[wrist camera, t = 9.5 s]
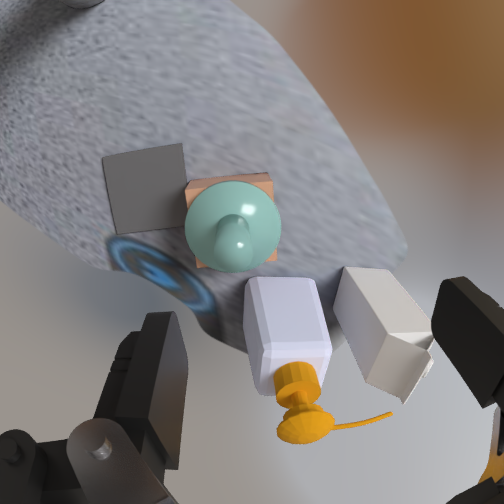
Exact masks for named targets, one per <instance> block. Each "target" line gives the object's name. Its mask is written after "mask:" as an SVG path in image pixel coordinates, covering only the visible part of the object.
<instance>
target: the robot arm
mask: <svg viewBox="0 0 504 504" xmlns="http://www.w3.org/2000/svg"><path fill="white" fill-rule="evenodd" d="M58 1H60V2H62V3H64V4H66V5H68V6H70V7H72V8H77V9H81V8H88V7H91V6H94V5H96V4H98V3H100V2H102V1H103V0H58ZM431 331H432V335H433V337H434V339H435V340H436V341H437V343H438V344H439V345H440V347H441V348H442V350H443V351H444V352H445V354H446V355H447V357H448V358H449V359H450V361H451V362H452V364H453V365H454V366H455V368H456V369H457V371H458V372H459V374H460V375H461V377H462V378H463V380H464V381H465V383H466V384H467V386H468V387H469V389H470V390H471V392H472V393H473V395H474V396H475V398H476V399H477V401H478V402H479V404H480V405H481V407H482V408H485V407H487V406H489V405H491V404H493V403H495V402H496V403H497V404H498V407H497V408H496V410H495V413H494V420H493V431H492V440H491V448H490V455H489V461H488V464H487V467H486V469H485V471H484V473H483V474H482V476H481V478H480V480H479V482H478V484H477V485H475V486H473V487H472V488H470V489H468V490H466V491H464V492H462V493H460V494H458V495H456V496H455V497H453V498H452V499H451V500H450V501H449V502H447V503H446V504H504V309H503V308H502V307H499V304H498V303H497V302H496V301H495V300H494V299H492V298H491V297H490V296H489V295H487V294H485V293H483V292H482V291H481V290H480V289H478V287H476V286H475V285H474V284H473V283H472V282H471V281H470V280H469V279H468V278H466V277H464V276H462V277H456V278H451V279H446V280H443V281H442V283H441V285H440V288H439V293H438V296H437V300H436V304H435V308H434V312H433V316H432V319H431ZM110 371H111V372H109V374H108V377H107V380H106V383H105V385H104V388H103V391H102V394H101V397H100V400H99V402H98V405H97V409H96V411H95V414H94V417H93V419H90V420H87V421H85V422H83V423H81V424H80V425H79V426H77V427H76V428H75V429H74V430H73V431H72V433H71V434H70V436H69V438H68V439H65V440H58V441H50V442H42V443H36V442H35V440H33V438H32V437H31V436H30V435H29V434H28V433H26V432H25V431H22V430H18V429H14V430H9V431H6V432H4V433H3V434H1V435H0V504H179V503H178V502H177V501H176V500H175V499H174V497H173V496H172V495H171V493H170V492H169V491H168V489H167V488H166V487H165V486H164V484H163V483H164V473H165V469H171V470H178V466H179V454H180V442H181V433H182V422H183V413H184V403H185V395H186V386H187V378H188V359H187V353H186V349H185V346H184V342H183V338H182V334H181V330H180V327H179V323H178V319H177V316H176V313H175V312H174V311H172V312H155V313H148V314H147V315H146V318H145V320H144V323H143V326H142V329H141V331H134V332H131V333H130V334H129V335H128V336H127V337H126V338H125V339H124V340H123V341H122V342H121V343H120V345H119V347H118V350H117V353H116V355H115V361H113V363H112V366H111V369H110Z"/></svg>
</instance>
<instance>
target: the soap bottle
mask: <svg viewBox="0 0 504 504" xmlns="http://www.w3.org/2000/svg"><path fill="white" fill-rule="evenodd" d="M243 331H244V336H245V341H246V346H247V350H248V355H249V360H250V365H251V370H252V375H253V379H254V384H255V387H256V389H257V391H258V393H259V394H261V395H265V396H273V395H276V400H277V403H278V404H279V405H280V406H282V407H285V408H288V409H289V410H288V411H287V412H286V413H285V414H284V416H283V420H284V421H282V422H281V423H280V424H279V426H278V428H277V436H278V437H279V438H280V439H281V440H283V441H285V442H288V443H292V444H308V443H312V442H315V441H317V440H319V439H321V438H322V437H324V436H326V435H327V434H328V433H329V432H330V431H331V430H337V429H345V428H352V427H357V426H362V425H366V424H369V423H373V422H376V421H378V420H381V419H384V418H386V417H389V416H392V415H393V413H392V412H388V413H385V414H382V415H380V416H377V417H374V418H371V419H367V420H364V421H359V422H354V423H348V424H340V425H334V422H335V419H334V418H333V416H332V415H331V414H330V413H327V412H324V411H323V409H322V408H321V407H320V406H319V405H316V404H312V403H314V402H315V401H316V400H317V399H318V398H319V396H320V395H321V387H322V384H323V380H324V377H325V373H326V370H327V367H328V364H329V360H330V357H331V353H332V345H331V341H330V337H329V333H328V329H327V325H326V322H325V318H324V314H323V310H322V306H321V302H320V299H319V295H318V291H317V288H316V284H315V281H314V280H312V279H309V278H305V277H253V278H250V279H249V280H248V282H247V284H246V285H245V296H244V313H243Z"/></svg>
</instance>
